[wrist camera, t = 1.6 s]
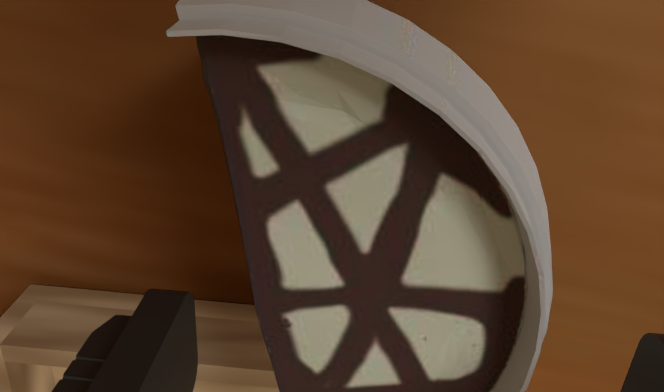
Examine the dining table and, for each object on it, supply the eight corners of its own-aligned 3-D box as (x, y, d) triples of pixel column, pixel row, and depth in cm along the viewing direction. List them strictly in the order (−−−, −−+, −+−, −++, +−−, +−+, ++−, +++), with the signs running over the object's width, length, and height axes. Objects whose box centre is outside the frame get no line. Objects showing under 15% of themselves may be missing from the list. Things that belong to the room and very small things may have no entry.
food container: (486, 273, 22) (562, 529, 13) (326, 283, 22) (294, 533, 14) (482, -85, 16) (610, -68, 7) (271, -55, 17) (155, -7, 8)
